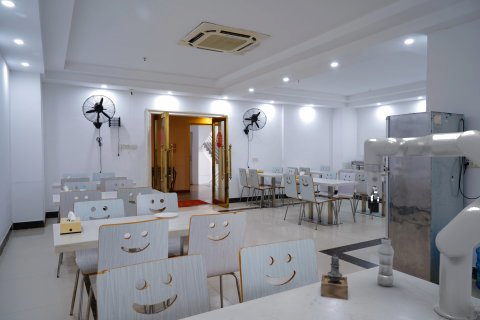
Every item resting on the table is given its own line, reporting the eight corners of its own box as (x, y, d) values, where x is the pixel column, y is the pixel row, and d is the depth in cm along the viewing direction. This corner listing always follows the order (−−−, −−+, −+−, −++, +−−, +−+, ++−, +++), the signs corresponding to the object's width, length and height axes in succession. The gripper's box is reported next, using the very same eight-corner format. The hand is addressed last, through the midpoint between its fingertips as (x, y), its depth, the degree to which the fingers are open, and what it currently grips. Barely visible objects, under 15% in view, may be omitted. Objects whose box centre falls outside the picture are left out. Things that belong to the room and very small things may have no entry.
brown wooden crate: (346, 289, 135) (347, 277, 135) (347, 299, 126) (347, 286, 126) (322, 286, 138) (322, 274, 138) (320, 296, 129) (321, 283, 129)
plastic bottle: (375, 285, 139) (376, 239, 139) (379, 280, 145) (379, 236, 145) (392, 289, 136) (392, 241, 135) (395, 284, 141) (395, 238, 141)
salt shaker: (343, 286, 128) (343, 256, 128) (327, 285, 130) (328, 255, 129) (341, 280, 134) (341, 251, 134) (326, 279, 135) (327, 250, 135)
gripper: (386, 169, 124) (386, 214, 124) (380, 168, 141) (380, 207, 141) (365, 169, 126) (365, 213, 126) (362, 167, 143) (361, 206, 143)
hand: (373, 210), depth 134 cm, fingers open, 9 cm apart
